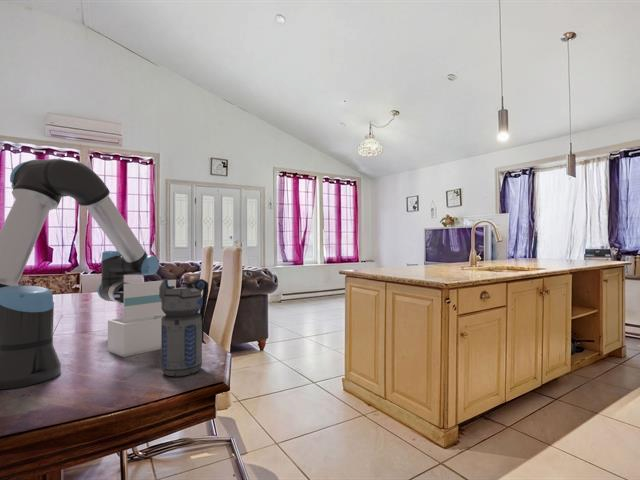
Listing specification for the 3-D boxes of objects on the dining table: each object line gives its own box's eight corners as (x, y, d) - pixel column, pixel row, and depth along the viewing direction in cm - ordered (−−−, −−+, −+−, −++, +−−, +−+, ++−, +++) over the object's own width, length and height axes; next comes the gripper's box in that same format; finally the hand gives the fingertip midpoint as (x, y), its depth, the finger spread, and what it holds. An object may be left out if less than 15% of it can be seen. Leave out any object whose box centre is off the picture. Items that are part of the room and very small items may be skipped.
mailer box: (107, 350, 117) (107, 320, 117) (155, 340, 129) (155, 312, 130) (123, 357, 109) (123, 324, 110) (173, 346, 122) (173, 316, 122)
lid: (123, 283, 109) (124, 283, 109) (174, 279, 122) (176, 279, 122) (123, 320, 109) (124, 320, 109) (174, 312, 122) (175, 312, 122)
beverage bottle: (217, 368, 98) (216, 277, 98) (168, 382, 88) (168, 280, 89) (198, 361, 105) (198, 275, 105) (152, 372, 95) (152, 278, 96)
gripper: (141, 300, 137) (174, 306, 122) (104, 305, 127) (135, 311, 112) (141, 281, 137) (174, 284, 123) (104, 284, 127) (135, 287, 112)
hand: (156, 297), depth 117 cm, fingers closed
